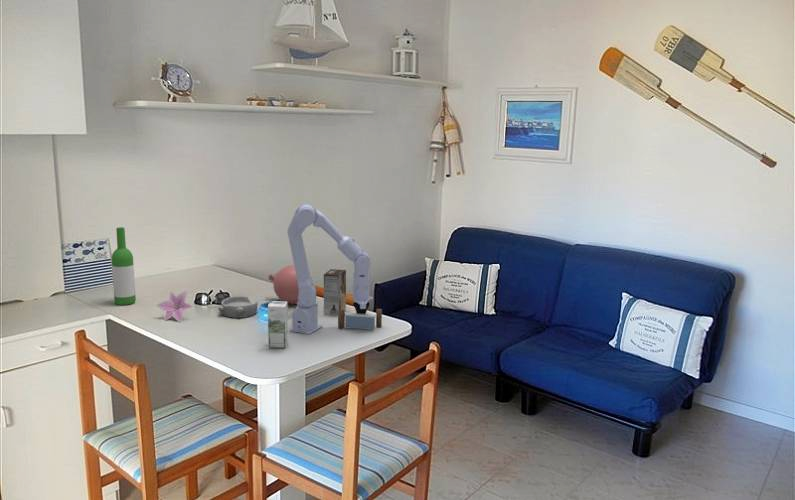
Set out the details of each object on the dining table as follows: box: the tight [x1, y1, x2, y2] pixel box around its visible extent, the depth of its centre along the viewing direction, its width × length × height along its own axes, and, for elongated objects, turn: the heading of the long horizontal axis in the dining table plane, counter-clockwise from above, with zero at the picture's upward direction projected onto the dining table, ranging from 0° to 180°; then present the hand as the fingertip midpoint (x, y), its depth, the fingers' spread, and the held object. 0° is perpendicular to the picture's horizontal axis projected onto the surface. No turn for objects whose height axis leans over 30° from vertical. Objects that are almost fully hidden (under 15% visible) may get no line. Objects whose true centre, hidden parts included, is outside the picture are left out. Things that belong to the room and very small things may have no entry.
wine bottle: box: [111, 226, 137, 306], centre depth 249 cm, size 8×8×30 cm
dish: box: [217, 295, 258, 319], centre depth 243 cm, size 14×14×5 cm
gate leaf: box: [345, 312, 376, 330], centre depth 228 cm, size 11×2×5 cm, turn 81°
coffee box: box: [323, 268, 347, 317], centre depth 245 cm, size 9×6×16 cm
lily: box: [156, 290, 193, 323], centre depth 235 cm, size 12×12×10 cm
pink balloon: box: [268, 264, 313, 305], centre depth 257 cm, size 15×20×15 cm
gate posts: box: [337, 308, 383, 330], centre depth 230 cm, size 16×2×6 cm, turn 98°
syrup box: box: [267, 300, 289, 349], centre depth 209 cm, size 6×6×14 cm
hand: (361, 322), depth 230 cm, fingers closed, pressing on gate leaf
